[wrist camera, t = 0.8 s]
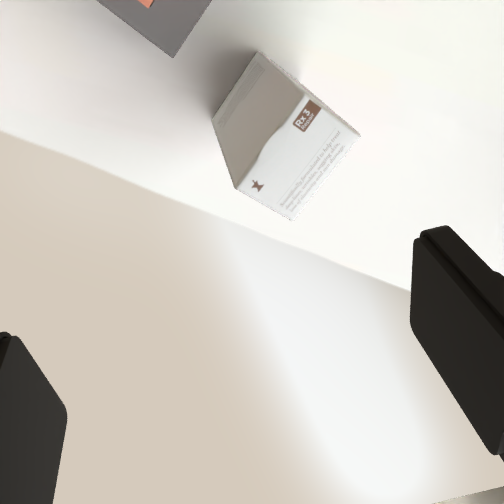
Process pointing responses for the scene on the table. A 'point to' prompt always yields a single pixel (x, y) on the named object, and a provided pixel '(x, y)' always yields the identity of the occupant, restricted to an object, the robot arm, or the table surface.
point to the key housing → (160, 19)
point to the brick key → (146, 2)
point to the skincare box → (279, 138)
